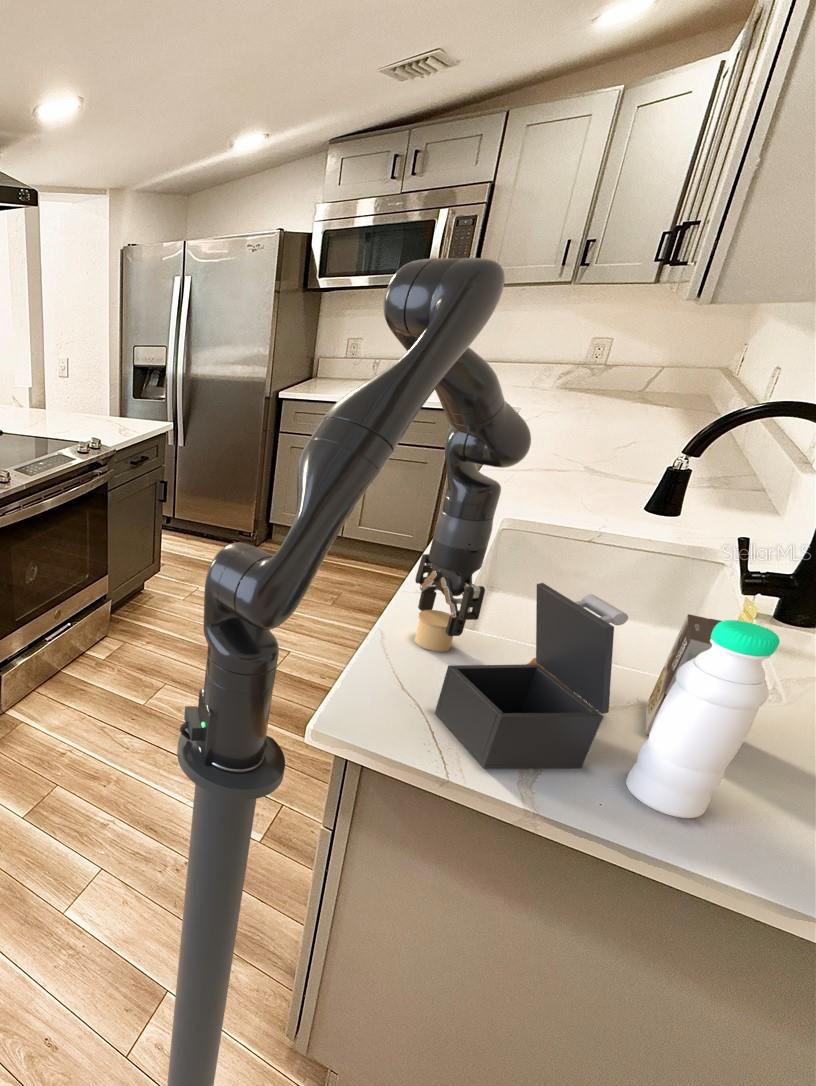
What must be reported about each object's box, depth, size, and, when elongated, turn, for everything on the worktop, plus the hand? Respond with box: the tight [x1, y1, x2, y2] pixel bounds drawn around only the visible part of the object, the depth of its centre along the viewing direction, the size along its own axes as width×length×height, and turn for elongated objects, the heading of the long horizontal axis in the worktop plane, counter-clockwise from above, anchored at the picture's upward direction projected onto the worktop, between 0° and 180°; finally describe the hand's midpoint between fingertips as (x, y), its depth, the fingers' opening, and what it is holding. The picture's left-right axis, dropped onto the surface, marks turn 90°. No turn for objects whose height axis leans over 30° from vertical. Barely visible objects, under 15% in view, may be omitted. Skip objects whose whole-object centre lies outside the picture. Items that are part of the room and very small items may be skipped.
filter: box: [414, 609, 454, 653], centre depth 109 cm, size 6×6×5 cm
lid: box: [535, 582, 629, 715], centre depth 81 cm, size 13×12×5 cm
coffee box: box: [644, 613, 722, 736], centre depth 85 cm, size 9×6×16 cm
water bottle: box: [625, 619, 781, 819], centre depth 72 cm, size 7×7×25 cm
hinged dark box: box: [434, 663, 604, 770], centre depth 86 cm, size 13×12×9 cm
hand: (438, 622), depth 108 cm, fingers open, 8 cm apart
